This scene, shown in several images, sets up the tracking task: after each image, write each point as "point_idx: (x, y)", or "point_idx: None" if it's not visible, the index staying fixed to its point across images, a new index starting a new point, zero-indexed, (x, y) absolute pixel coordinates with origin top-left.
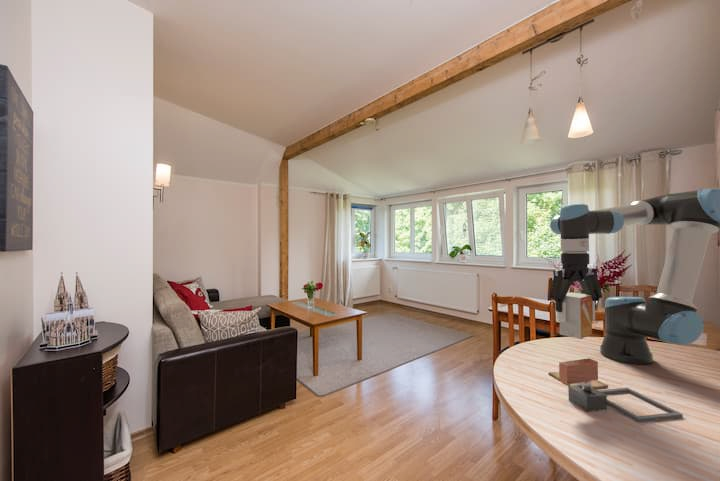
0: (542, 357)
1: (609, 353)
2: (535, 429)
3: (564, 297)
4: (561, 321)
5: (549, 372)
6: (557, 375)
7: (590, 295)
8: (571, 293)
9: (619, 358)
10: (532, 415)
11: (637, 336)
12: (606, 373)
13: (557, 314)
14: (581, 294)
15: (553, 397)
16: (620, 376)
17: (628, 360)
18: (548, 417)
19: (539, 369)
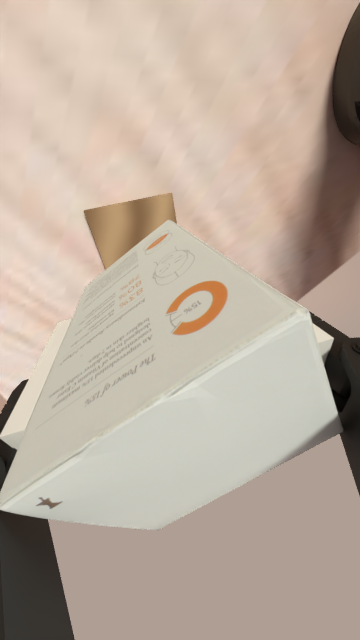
0: (115, 25)
1: (348, 70)
2: (5, 398)
3: (43, 527)
4: None
5: (86, 210)
6: (100, 230)
7: (322, 441)
8: (236, 398)
9: (341, 110)
10: (5, 373)
11: None
12: (233, 202)
13: (47, 346)
14: (284, 436)
15: (58, 320)
16: (248, 220)
17: (347, 129)
18: (31, 373)
19: (66, 170)
